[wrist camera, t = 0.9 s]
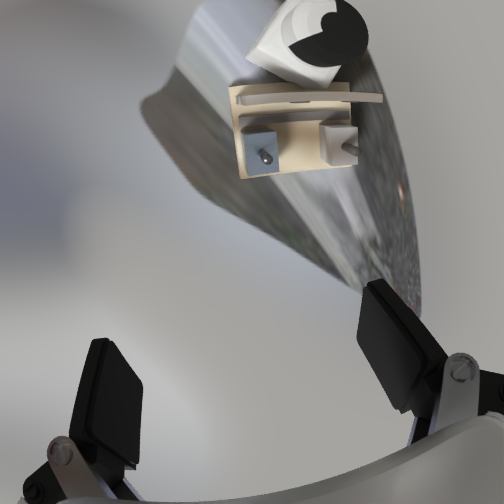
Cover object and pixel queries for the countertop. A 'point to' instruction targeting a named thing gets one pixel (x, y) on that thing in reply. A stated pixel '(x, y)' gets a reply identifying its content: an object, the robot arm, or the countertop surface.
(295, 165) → the board
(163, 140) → the countertop surface
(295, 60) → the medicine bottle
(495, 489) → the robot arm
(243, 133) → the sliding pin
